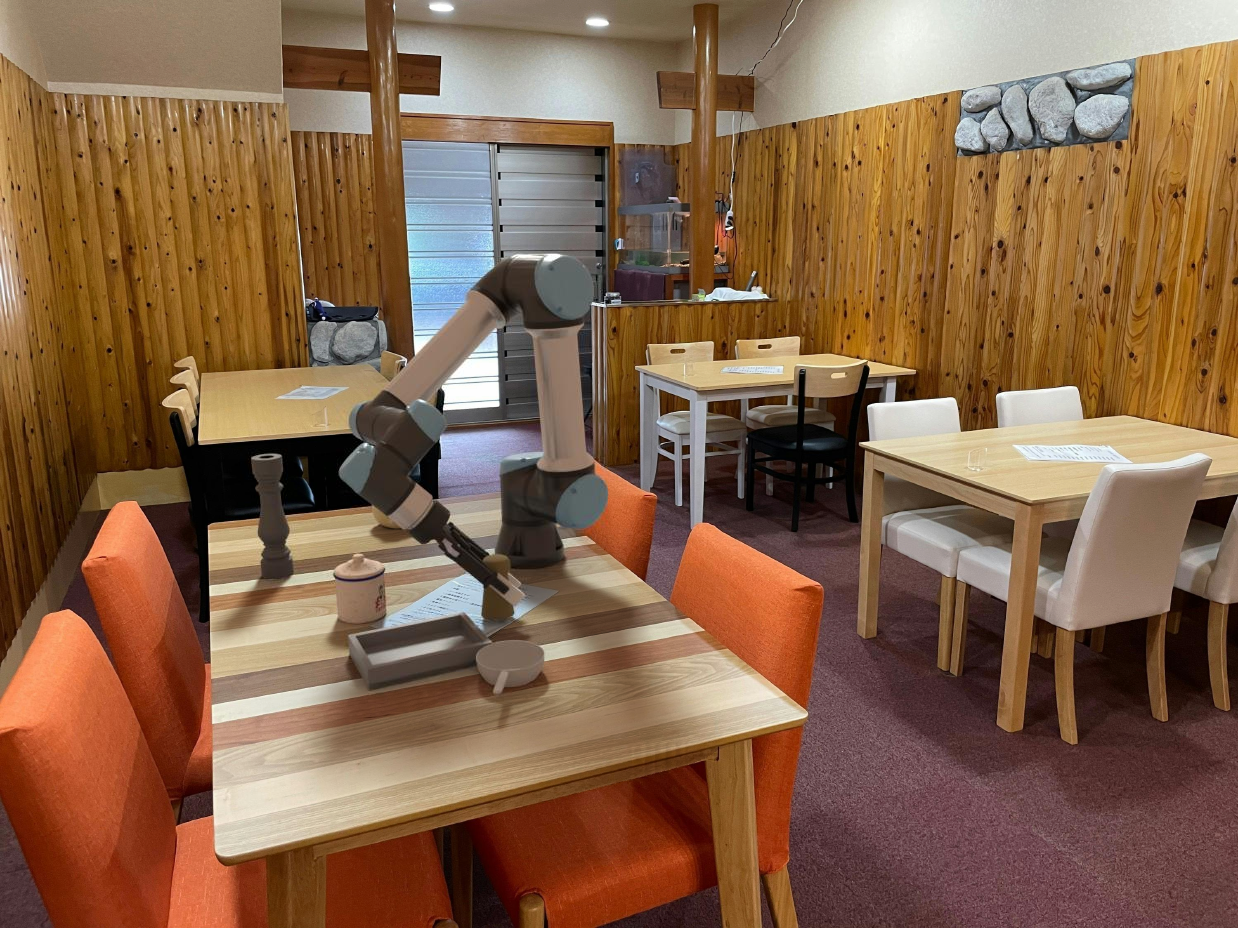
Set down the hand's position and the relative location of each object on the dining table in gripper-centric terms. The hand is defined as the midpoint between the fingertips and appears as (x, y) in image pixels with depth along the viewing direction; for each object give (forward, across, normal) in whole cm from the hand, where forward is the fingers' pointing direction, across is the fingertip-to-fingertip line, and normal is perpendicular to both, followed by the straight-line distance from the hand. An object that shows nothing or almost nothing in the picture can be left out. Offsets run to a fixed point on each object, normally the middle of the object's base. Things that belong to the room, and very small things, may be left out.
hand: (517, 594), depth 160 cm
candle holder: (-29, -33, -36) cm, 57 cm away
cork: (0, 0, -5) cm, 5 cm away
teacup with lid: (-17, -9, -23) cm, 30 cm away
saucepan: (0, +26, -7) cm, 26 cm away
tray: (-10, +13, -16) cm, 23 cm away
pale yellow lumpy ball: (-12, -62, -18) cm, 66 cm away
